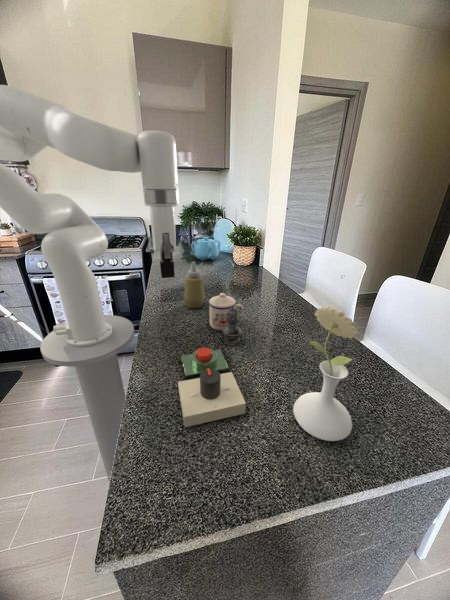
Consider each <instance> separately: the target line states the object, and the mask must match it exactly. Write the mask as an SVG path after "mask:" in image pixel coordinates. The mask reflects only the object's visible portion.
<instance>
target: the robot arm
mask: <svg viewBox="0 0 450 600" xmlns="http://www.w3.org/2000/svg"><path fill="white" fill-rule="evenodd" d="M49 147H50V148H53V149H55V150H57V151H58V152H59V153H61V154H62V155H64V156H66V157H68V158H71V159H72V160H75V161H78V162H81V163H84V164H86V165H88V166H91V167H94V168H97V169H100V170H102V171H103V170H104V171H108V172H119V173H120V172H122V173H131V174H132V173H141V175H140V176H141V184H142V191H143V202H144V206H146V207H149V216H150V218H149V220H150V228H151V229H150V230H151V239H152V247H153V252H155V253H156V254H157V253H158V252H159V256H160V260H159V267H160V275H161V278H162V279H169V278H171V279H172V278H175V262H174V259H173V253H174V252H175V251H176V250H177V241H176V240H177V239H176V238H177V237H176V235H177V232H176V215H175V207H178V206H179V207H180V194H179V192H180V191H179V176H178V175H179V174H178V173H179V172H178V156H177V142H176V138H175V137H174V135H173V134H172V133H170V132H169V131H164V130H163V131H162V130H154V129H153V130H143V131H141V132H140V133H138V134H134V133H131V132H127V131H125V130H123V129H119V128H117V127H114V126H110V125H107V124H104V123H101V122H99V121H96V120H94V119H90V118H87V117H85V116H82V115H79V114H77V113H73V112H72V111H71V110H70V109H69V107H66V106H65V105H63V104H60V103H58V102H54V101H52V100H49V99H46V98H44V97H41V96H39V95H36V94H33V93H30V92H28V91H25V90H22V89H19V88H16V87H15V86H11V85H7V84H0V161H5V162H14V163H15V162H17V163H18V162H19V163H20V162H26V161H29V160H31V159H32V158H34V157H35V156H37V155H38V154H40V153H41V152H42V151H43V150H44V149H46V148H49ZM0 208H1V210H3V212H5V213H6V214H7V215H8V216H9V217H10V218H11V219H12V220H13V221H14V222H15V223H16V224H18V225H19V226H20V227H21V228H22V229H23V230H24V231H26V232H27V233H30V234H33V235H42V234H45V236H44V237H43V238H42V241H41V243H40V244H41V245H40V249H41V253H42V255H43V257H44V259H45V261H46V264H47V265H48V266H49V269H50V271H51V273H52V275H53V279H54V281H55V284H56V288H57V291H58V294H59V297H60V300H61V304H62V308H63V310H64V314H65V318H66V323H65V324H66V325H64V324H58V325H53V330H52V331H54V332H56V335H62V334H65V335H66V341H67V343H68V344H69V345H71V346H75V347H85V346H91V345H95V344H98V343H100V342H102V341H104V340H106V339H107V338H108V337H109V336H110V335H111V334H112V326H111V325H110V324H108V323H105V319H104V315H105V314H104V311H103V306H102V301H101V296H100V291H99V286H98V282H97V279H96V276H95V274H94V272H93V271H92V269H91V268H90V267H89V266H88V264H87V263H88V262H89V261H91V260H94V259H96V258H98V257H100V256H102V255H104V254H105V253H106V252H107V251H108V247H109V241H108V237H107V235H106V234H105V232H104V230H103V229H102V228H101V227H100V225H99V224H97V223H96V221H94V220H93V219H92V218H91V216H90V215H89V214H87V212H85V211H84V209H83V208H81V206H80V205H79V204H78V203H77V202H76V201H75V200H73V199H72V198H71V197H69V196H67V195H64V194H61V193H55V192H54V193H43V192H39V191H37V190H36V189H35V188H33V187H32V186H31V185H30V184H29V183H28V182H27V181H26V180H25V179H24V178H23V177H22V176H21V175H20V174H18V173H17V172H15V171H14V170H13V169H11V168H10V167H8V166H6V165H4V164H2V163H1V162H0Z"/></svg>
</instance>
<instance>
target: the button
mask: <svg viewBox="0 0 450 600" xmlns="http://www.w3.org/2000/svg"><path fill="white" fill-rule="evenodd" d="M210 349H211V348H209V347H200V348H198V349H197V359H198V360H199V361H208V360H210V359H211V350H212V349H211V350H210Z"/></svg>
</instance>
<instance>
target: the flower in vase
mask: <svg viewBox="0 0 450 600" xmlns="http://www.w3.org/2000/svg"><path fill="white" fill-rule="evenodd" d="M314 316H315V317H316V320H317V321H318V322H319V325H320V326H322V327H323V328H324V329H325V330H327V331H328V334H327V336H326V339H325V341H324V346H322V345H321V344H320V343H318V341H316V340H310V341H309V342H308V344H309V345H311V346H312V347H314V348H315V349H316V350H317V351H318V352H320V353H325V357H326V360H323V361H321V362H320V363H319V370H320V371H321V373H322V377H323V380H322V381H323V383H322V387H321V391H320V392H317V391H312V392H306V393H304V394H302V395H300V396H298V398H297V399H296V400H295V402H294V404H293V415H294V418H295V420H296V421H297V423H298V425H299V426H300V427H301V428H302V430H304V431H305V432H306V433H307V434H309V435H310V436H312V437H314V438H316V439H318V440H321V441H326V442H338V441H342V440H344V439H346V438H347V437H349V435H350V434H351V433H352V430H353V421H352V418H351V414H350V412H349V411H348V409H347V408H346V407H345V406H344V405H343V403H341V402H340V401H339V399H337V398H335V397H334V395H335V391H336V388H337V386H338V384H339V383H340V382H341V380H343V379H346V378H347V377H348V375H349V370H348V368H347V367H346V366H345V365H347V364H349V363H350V362H351V361H352V360H353V358H350V357H347V356H345V355H337V356H335V357H333V358H332V359H330V357H329V355H328V351H327V344H328V341H329V339H330V336H331V334H333V335H336V336H337V337H339V338H340V337H342V338H343V339H346V338H348V339H349V340H350V339H354V337H356V336H357V335H358V334H359V333H358V331H359V329H357V328H356V327H355V326H357V323H356V322H355V321H353V319H352V318H350V317H346V312H345V311H342V310H340V311H338V310H337V309H336V308H332V306H329V305H327V306H326V308H325V307H323V306H320V307H318V308H317V310H315V312H314Z"/></svg>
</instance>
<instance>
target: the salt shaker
mask: <svg viewBox="0 0 450 600" xmlns="http://www.w3.org/2000/svg"><path fill="white" fill-rule="evenodd" d="M238 314H239V313H238V309H236V307H235V308H234V306H233V307H232V308H231V309H229V310H228V318H227V321H228V325H227V327H225V328H224V329H223V331H222V333H223V335H224V338H223V343H224V344H225V345H228V346H237V345H239V344H240V343H241V338H240V336H241V335H242V333H243V329H241V327H239V326H238V322H240V321H239V317H238ZM237 317H238V318H237Z"/></svg>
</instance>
